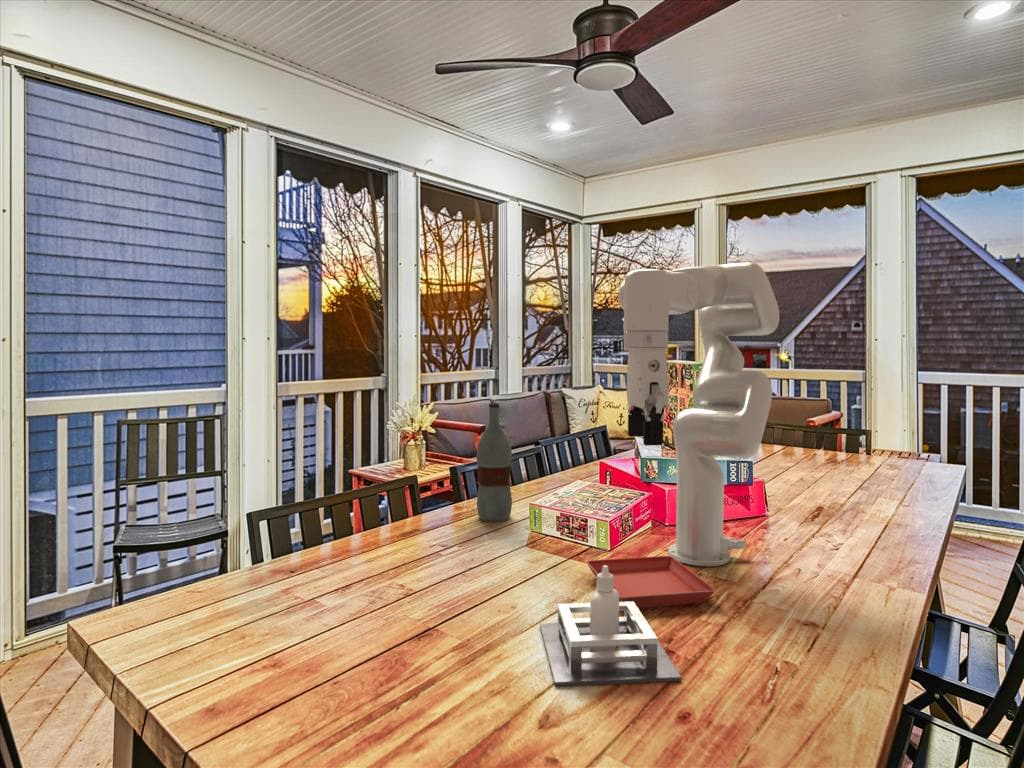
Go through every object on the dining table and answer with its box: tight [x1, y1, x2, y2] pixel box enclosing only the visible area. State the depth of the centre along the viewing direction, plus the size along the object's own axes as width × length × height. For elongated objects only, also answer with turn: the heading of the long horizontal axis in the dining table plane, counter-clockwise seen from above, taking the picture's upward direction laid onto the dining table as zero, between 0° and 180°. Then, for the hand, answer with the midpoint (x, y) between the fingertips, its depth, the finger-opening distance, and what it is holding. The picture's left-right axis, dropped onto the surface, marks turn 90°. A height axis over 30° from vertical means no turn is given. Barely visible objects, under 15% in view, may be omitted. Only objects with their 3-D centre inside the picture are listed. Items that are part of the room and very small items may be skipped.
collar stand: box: [539, 601, 682, 687], centre depth 89 cm, size 17×17×5 cm
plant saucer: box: [586, 555, 716, 609], centre depth 112 cm, size 18×18×3 cm
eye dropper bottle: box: [589, 565, 620, 652], centre depth 89 cm, size 4×6×12 cm
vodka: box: [476, 402, 513, 522], centre depth 158 cm, size 9×9×30 cm
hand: (644, 440), depth 106 cm, fingers open, 9 cm apart
